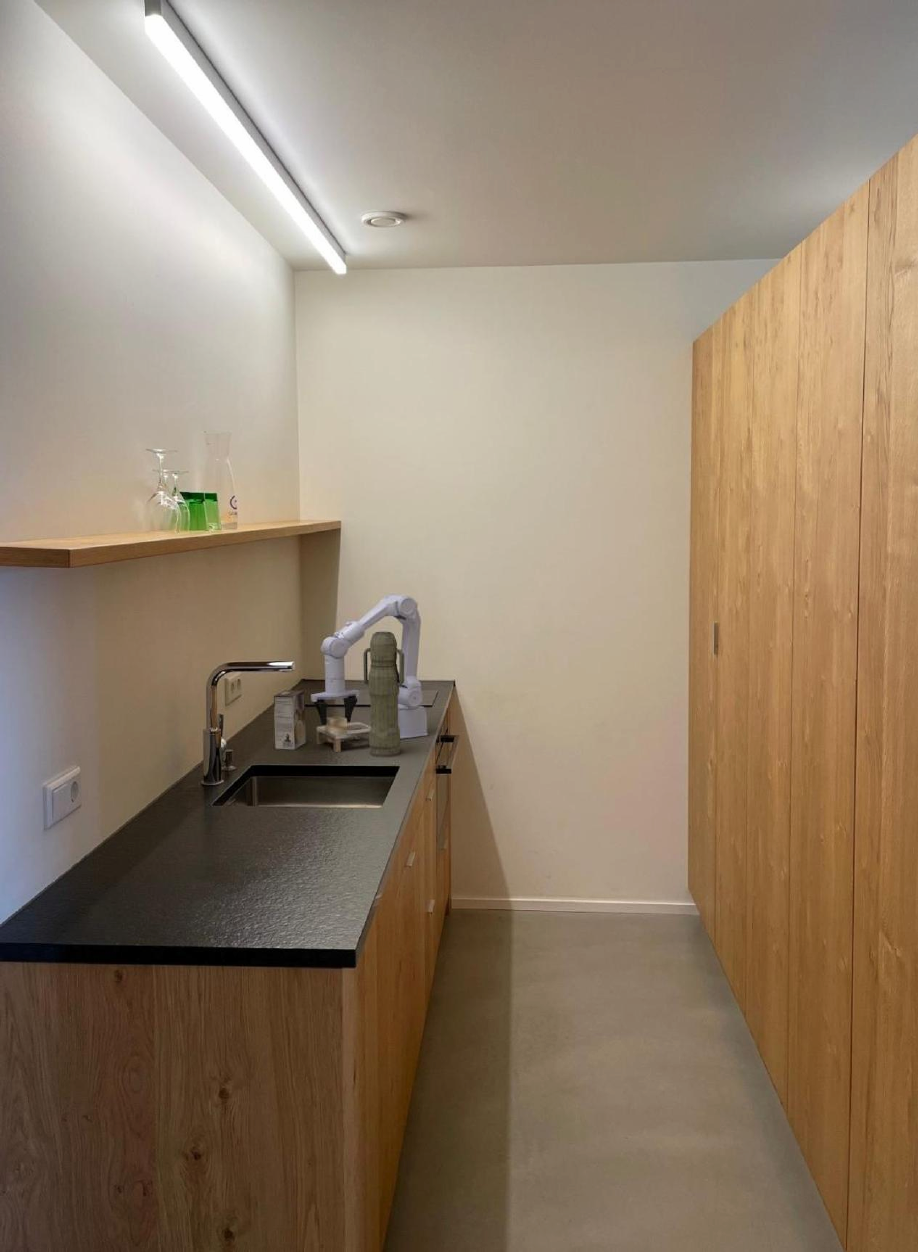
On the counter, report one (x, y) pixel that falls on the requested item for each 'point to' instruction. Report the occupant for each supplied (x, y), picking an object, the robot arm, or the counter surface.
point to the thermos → (384, 693)
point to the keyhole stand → (343, 733)
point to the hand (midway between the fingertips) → (335, 723)
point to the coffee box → (289, 719)
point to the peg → (336, 726)
